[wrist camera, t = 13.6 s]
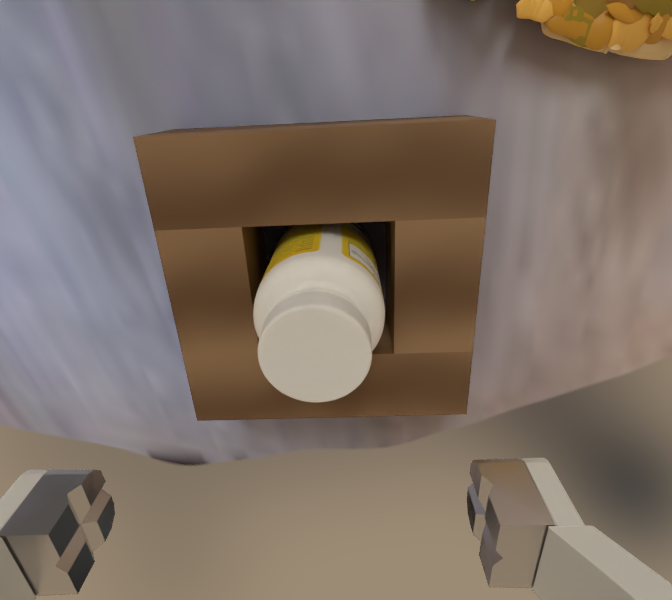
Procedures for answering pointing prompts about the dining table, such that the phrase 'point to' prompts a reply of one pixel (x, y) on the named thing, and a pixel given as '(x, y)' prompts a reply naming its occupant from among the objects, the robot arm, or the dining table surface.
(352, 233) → the supplement bottle
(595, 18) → the green creature figurine
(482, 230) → the socket block
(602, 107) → the dining table surface
